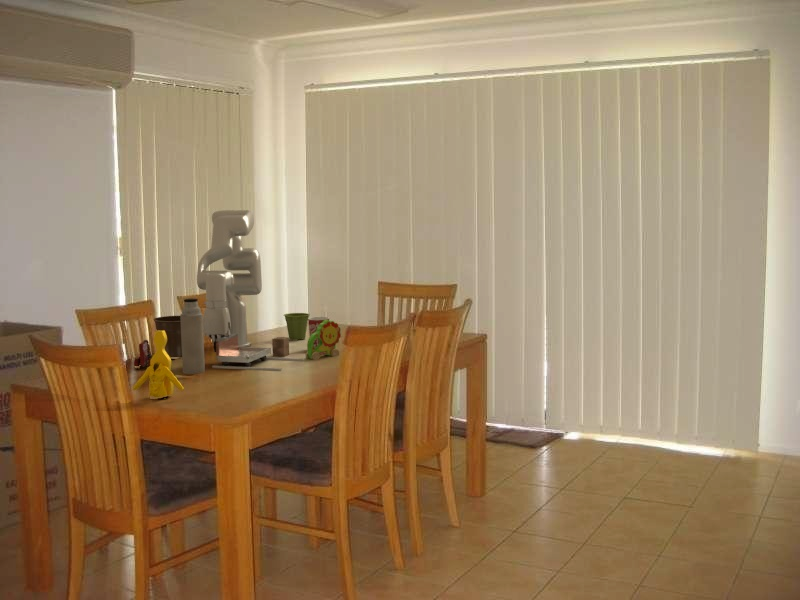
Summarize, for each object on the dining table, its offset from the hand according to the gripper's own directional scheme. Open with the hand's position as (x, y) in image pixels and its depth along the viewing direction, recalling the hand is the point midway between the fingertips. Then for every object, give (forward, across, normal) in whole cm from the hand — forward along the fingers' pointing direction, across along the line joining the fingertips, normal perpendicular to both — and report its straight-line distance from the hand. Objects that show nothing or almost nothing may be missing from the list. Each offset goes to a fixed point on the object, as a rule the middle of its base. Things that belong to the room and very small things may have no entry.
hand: (218, 351), depth 362 cm
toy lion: (+5, +36, +21) cm, 42 cm away
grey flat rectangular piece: (+5, +17, 0) cm, 18 cm away
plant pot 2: (+5, +6, +64) cm, 64 cm away
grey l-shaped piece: (+4, +11, 0) cm, 12 cm away
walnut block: (+5, +18, +19) cm, 27 cm away
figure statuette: (+5, +9, -57) cm, 58 cm away
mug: (+5, +26, +41) cm, 49 cm away
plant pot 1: (+5, -25, +11) cm, 28 cm away
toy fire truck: (+5, -25, -11) cm, 28 cm away
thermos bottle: (+5, 0, -19) cm, 20 cm away
